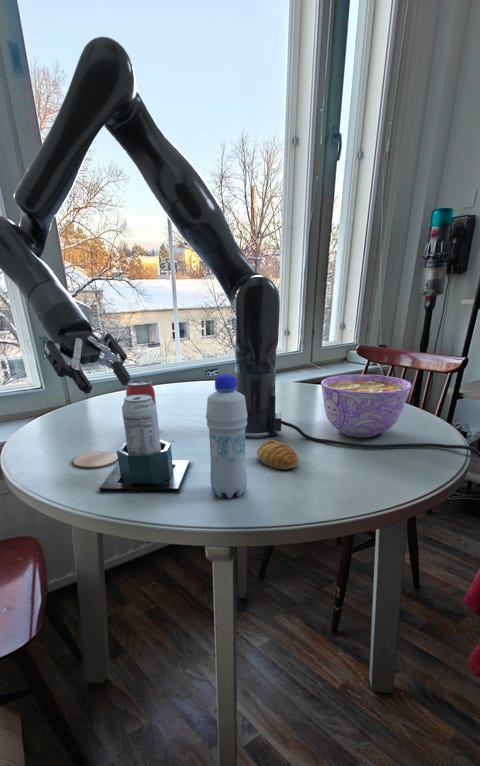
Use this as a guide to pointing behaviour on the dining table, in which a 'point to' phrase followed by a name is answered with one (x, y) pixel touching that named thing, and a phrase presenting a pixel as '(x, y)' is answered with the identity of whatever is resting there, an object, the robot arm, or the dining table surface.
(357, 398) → the bowl of food
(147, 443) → the energy drink can
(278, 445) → the pastry
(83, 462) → the cork coaster
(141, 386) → the beer can
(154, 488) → the can holder
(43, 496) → the dining table surface
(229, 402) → the bottle
